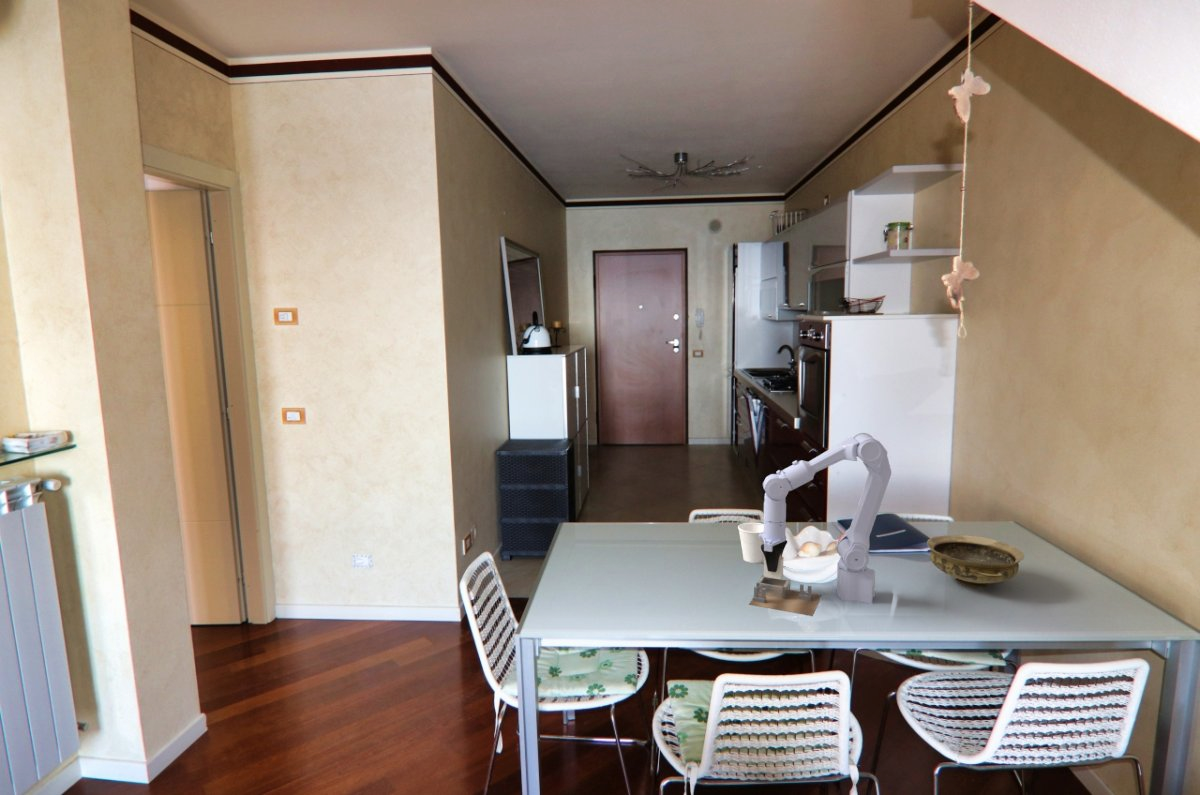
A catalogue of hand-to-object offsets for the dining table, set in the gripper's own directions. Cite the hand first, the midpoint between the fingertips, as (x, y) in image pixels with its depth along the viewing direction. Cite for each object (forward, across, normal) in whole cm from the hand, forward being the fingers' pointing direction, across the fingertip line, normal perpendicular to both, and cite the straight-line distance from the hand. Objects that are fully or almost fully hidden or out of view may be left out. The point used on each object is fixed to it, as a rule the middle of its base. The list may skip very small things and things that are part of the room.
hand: (773, 569), depth 186 cm
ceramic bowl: (+8, -32, +48) cm, 58 cm away
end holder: (+6, 0, 0) cm, 6 cm away
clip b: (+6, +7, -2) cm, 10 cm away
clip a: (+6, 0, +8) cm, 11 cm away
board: (+8, +4, +4) cm, 9 cm away
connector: (+2, 0, 0) cm, 2 cm away
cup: (+8, -22, -11) cm, 26 cm away
